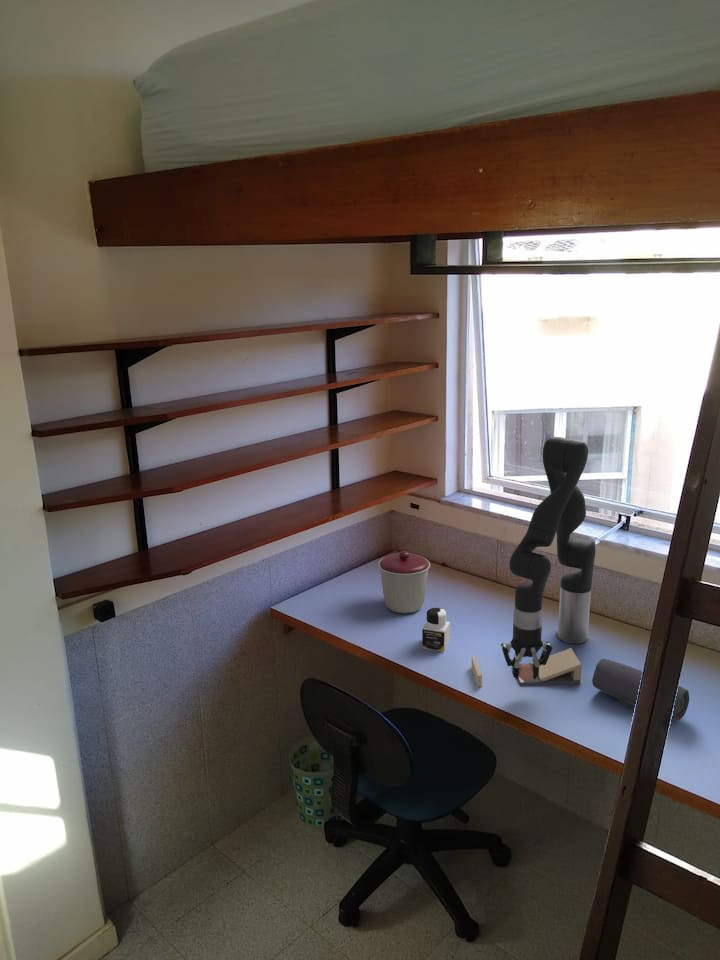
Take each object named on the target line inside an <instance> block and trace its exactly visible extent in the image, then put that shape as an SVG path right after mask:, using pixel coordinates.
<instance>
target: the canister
mask: <svg viewBox="0 0 720 960" xmlns="http://www.w3.org/2000/svg"><path fill="white" fill-rule="evenodd" d="M377 566H378V569H379V570H380V579H381V587H382V594H383V600H384V604H385V606H386V608H388V610H390V611H392V612H394V613H397V614H411V613H416V612H417V611H419V610H420V609H421V608H422V607H423V605H424V602H425V597H426V591H427V590H426V589H427V581H428V575H429V569H430V568H431V563H430V561H429V560H428V559H427V558H425V557H423V556H422V555H419V554H416V553H411V552H409V551H407V550H401V551H400V552H397V553H396V552H395V553H392V554H388V555H386V556H384V557H383V558H381V559H380V560H379V561H378V563H377Z"/></svg>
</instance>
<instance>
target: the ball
mask: <svg viewBox="0 0 720 960" xmlns="http://www.w3.org/2000/svg"><path fill="white" fill-rule="evenodd" d="M521 664H522V665H520V666H519V678H521V679H522V680H530V679H531V678H532V677H533V674H534V671H533V668H532V667H531V666H530V665H528V663H521Z"/></svg>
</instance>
